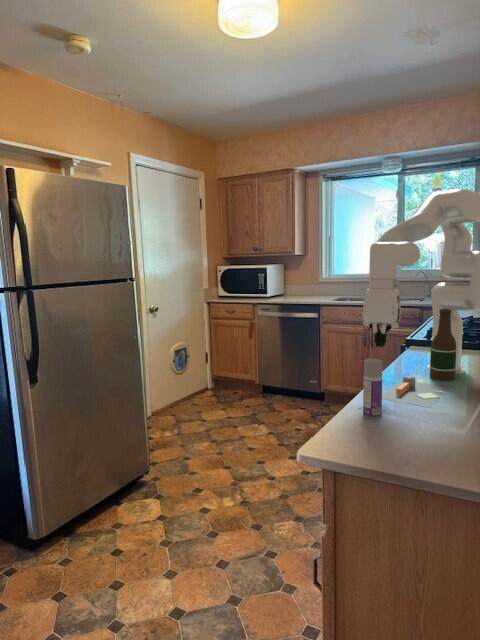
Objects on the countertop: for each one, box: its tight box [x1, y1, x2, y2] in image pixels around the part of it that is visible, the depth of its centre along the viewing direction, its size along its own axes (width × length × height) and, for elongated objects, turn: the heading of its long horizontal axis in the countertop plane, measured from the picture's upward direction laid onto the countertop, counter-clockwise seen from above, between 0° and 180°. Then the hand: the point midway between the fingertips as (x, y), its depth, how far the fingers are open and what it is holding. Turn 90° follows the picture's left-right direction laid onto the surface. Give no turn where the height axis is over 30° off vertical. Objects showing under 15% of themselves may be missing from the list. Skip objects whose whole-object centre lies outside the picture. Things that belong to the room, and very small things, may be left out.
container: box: [362, 357, 383, 420], centre depth 113 cm, size 5×5×15 cm
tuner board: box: [382, 379, 450, 408], centre depth 128 cm, size 22×14×1 cm, turn 143°
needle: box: [396, 375, 416, 395], centre depth 129 cm, size 12×4×3 cm, turn 142°
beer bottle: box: [429, 309, 457, 382], centre depth 140 cm, size 8×8×24 cm
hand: (380, 346), depth 129 cm, fingers closed
